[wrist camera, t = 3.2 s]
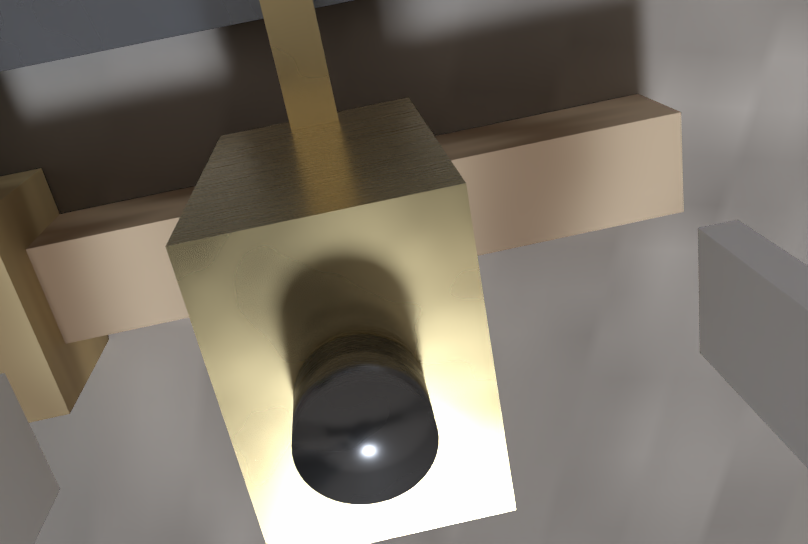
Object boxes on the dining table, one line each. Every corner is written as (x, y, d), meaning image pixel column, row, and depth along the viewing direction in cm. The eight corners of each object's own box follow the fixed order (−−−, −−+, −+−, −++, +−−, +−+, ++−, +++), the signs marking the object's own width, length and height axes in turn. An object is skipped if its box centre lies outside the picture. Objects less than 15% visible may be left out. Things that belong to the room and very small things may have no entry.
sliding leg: (287, 339, 24) (268, 630, 13) (130, -218, 17) (-124, -461, 7) (441, 306, 24) (538, 569, 14) (339, -258, 18) (377, -549, 7)
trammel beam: (-56, 374, 25) (-127, 456, 21) (-300, -104, 19) (-467, -120, 15) (644, 224, 25) (707, 275, 21) (619, -281, 20) (698, -341, 16)
